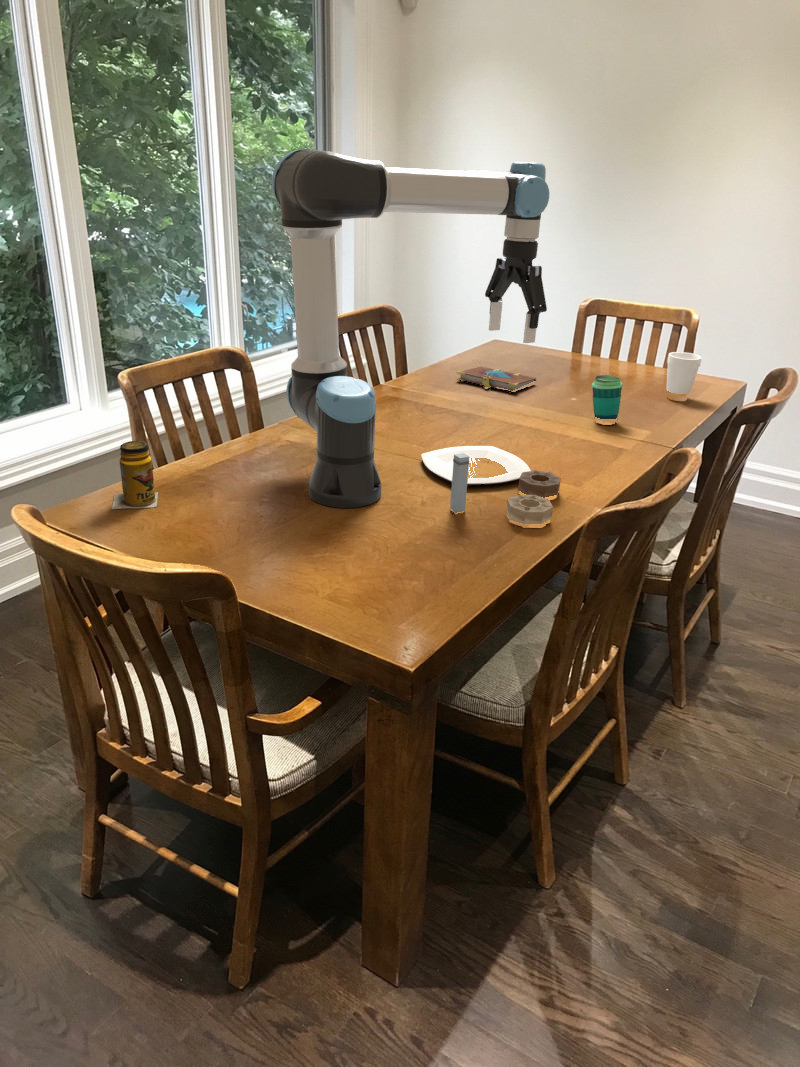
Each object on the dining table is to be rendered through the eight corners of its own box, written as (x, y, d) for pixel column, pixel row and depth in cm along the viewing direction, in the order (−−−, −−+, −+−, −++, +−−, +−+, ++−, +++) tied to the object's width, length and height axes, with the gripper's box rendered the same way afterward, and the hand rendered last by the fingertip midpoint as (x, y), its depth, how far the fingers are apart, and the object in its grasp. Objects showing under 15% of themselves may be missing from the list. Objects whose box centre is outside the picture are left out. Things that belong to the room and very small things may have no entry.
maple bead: (534, 532, 158) (536, 515, 156) (499, 519, 163) (500, 502, 161) (557, 520, 163) (559, 503, 162) (522, 507, 168) (524, 491, 167)
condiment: (156, 507, 161) (151, 450, 156) (111, 510, 160) (104, 451, 154) (158, 493, 168) (152, 437, 163) (114, 495, 166) (107, 439, 161)
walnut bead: (534, 504, 170) (536, 488, 169) (511, 489, 177) (512, 474, 175) (565, 497, 174) (568, 482, 172) (542, 483, 180) (543, 468, 179)
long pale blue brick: (455, 514, 164) (459, 458, 159) (449, 510, 166) (453, 454, 160) (465, 512, 165) (469, 456, 160) (459, 508, 167) (463, 452, 161)
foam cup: (696, 398, 248) (705, 355, 242) (688, 405, 240) (697, 361, 235) (665, 392, 252) (673, 350, 246) (656, 399, 245) (664, 356, 239)
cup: (605, 428, 218) (612, 384, 212) (580, 420, 223) (586, 377, 218) (623, 423, 223) (630, 379, 217) (598, 415, 228) (604, 372, 223)
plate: (408, 459, 192) (408, 451, 191) (494, 449, 200) (495, 441, 200) (452, 496, 173) (452, 488, 172) (545, 483, 181) (546, 475, 181)
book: (469, 374, 267) (470, 359, 265) (536, 389, 254) (539, 373, 252) (441, 381, 255) (443, 365, 253) (511, 397, 242) (513, 380, 240)
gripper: (571, 246, 172) (558, 346, 181) (502, 232, 192) (493, 324, 201) (542, 246, 169) (530, 349, 178) (475, 232, 188) (467, 326, 197)
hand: (511, 336), depth 189 cm, fingers open, 13 cm apart
